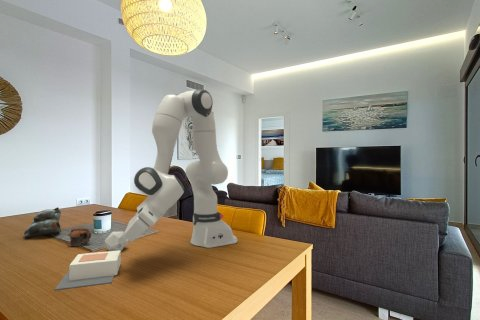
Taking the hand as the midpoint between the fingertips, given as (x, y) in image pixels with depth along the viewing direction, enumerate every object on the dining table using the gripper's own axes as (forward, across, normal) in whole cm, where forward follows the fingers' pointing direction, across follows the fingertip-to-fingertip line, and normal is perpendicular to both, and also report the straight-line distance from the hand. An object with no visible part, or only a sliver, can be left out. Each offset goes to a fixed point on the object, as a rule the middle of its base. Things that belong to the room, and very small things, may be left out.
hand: (119, 241), depth 93 cm
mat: (+14, 0, +1) cm, 14 cm away
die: (+10, -22, +5) cm, 25 cm away
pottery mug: (+22, -36, -7) cm, 43 cm away
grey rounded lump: (+38, -56, -23) cm, 71 cm away
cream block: (+5, 0, +5) cm, 7 cm away
